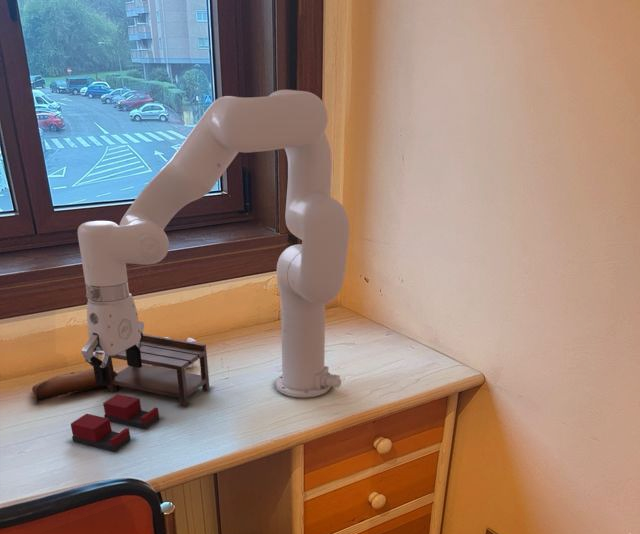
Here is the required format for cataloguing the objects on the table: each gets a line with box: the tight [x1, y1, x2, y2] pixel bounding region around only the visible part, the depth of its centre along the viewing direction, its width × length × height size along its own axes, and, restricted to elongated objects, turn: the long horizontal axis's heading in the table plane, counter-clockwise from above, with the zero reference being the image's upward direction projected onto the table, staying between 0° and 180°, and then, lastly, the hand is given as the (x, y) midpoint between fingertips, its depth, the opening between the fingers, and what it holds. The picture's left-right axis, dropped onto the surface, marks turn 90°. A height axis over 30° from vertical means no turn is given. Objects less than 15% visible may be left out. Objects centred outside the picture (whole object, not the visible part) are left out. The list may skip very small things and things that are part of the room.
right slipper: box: [102, 393, 160, 430], centre depth 131 cm, size 10×5×4 cm, turn 68°
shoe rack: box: [106, 333, 211, 408], centre depth 141 cm, size 20×10×11 cm, turn 68°
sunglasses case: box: [31, 368, 118, 404], centre depth 143 cm, size 18×7×7 cm
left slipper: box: [70, 413, 132, 453], centre depth 123 cm, size 10×5×4 cm, turn 68°
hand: (119, 375), depth 127 cm, fingers open, 9 cm apart
